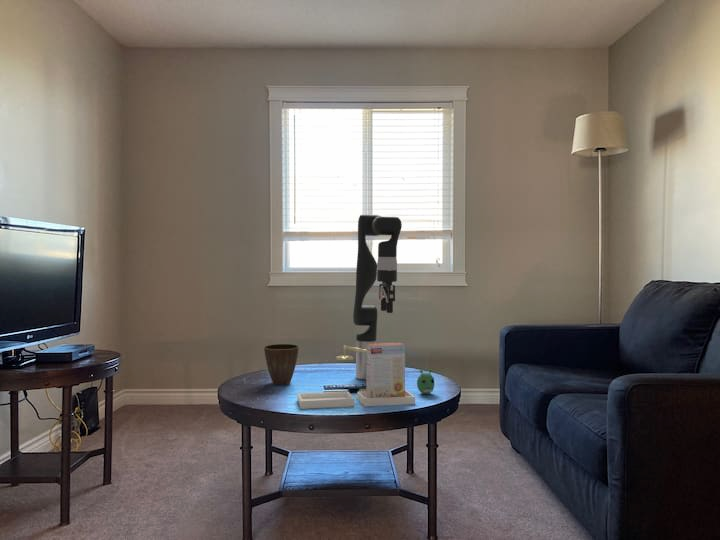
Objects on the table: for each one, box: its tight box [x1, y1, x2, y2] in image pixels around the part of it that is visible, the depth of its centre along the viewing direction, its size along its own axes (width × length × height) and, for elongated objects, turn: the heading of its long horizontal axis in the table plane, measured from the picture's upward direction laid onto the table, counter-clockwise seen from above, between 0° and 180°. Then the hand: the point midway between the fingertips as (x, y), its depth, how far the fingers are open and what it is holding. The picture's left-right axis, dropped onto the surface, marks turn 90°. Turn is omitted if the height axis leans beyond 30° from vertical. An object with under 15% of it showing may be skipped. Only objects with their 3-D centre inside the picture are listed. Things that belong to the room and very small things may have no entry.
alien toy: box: [416, 368, 435, 395], centre depth 210 cm, size 7×8×10 cm
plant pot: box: [263, 343, 300, 386], centre depth 226 cm, size 15×15×16 cm
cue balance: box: [335, 345, 366, 392], centre depth 209 cm, size 7×27×20 cm, turn 102°
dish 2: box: [356, 389, 416, 407], centre depth 198 cm, size 12×20×3 cm, turn 102°
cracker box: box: [365, 342, 406, 398], centre depth 198 cm, size 14×6×21 cm, turn 108°
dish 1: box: [297, 390, 355, 410], centre depth 194 cm, size 12×20×3 cm, turn 102°
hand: (386, 311), depth 198 cm, fingers open, 8 cm apart
